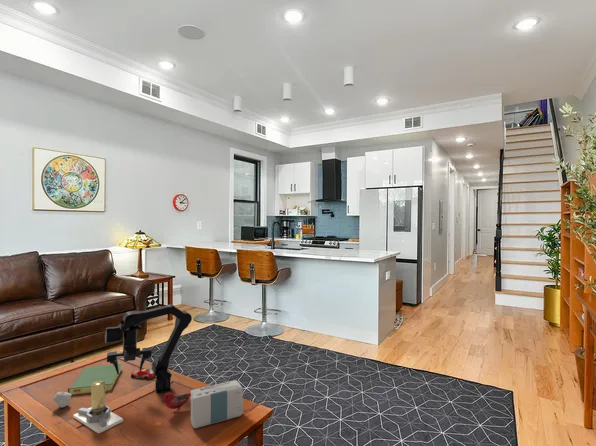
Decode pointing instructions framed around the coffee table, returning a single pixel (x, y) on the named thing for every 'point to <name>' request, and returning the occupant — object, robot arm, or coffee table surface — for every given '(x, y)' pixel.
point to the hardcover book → (94, 378)
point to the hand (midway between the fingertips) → (129, 372)
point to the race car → (143, 374)
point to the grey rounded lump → (62, 399)
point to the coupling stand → (97, 419)
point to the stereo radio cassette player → (216, 403)
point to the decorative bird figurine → (175, 400)
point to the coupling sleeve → (98, 398)
